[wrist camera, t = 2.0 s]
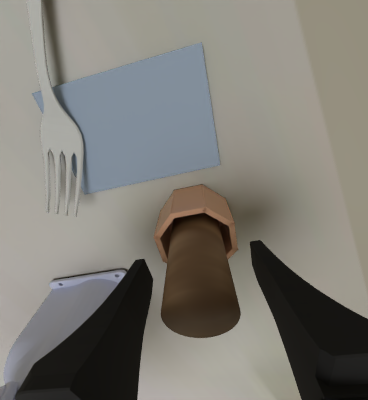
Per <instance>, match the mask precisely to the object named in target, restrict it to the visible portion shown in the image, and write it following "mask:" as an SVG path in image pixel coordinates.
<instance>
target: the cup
mask: <svg viewBox="0 0 368 400" xmlns="http://www.w3.org/2000/svg"><path fill="white" fill-rule="evenodd" d="M199 213H206V214H208V215H210V216H211V217H213V218H215V219H217V220H218V222H219V226H220V230H221V235H222V239H223V243H224V247H225V251H226V255H227V259H229V258H230V257H231V256H232V255H233V254H234V253H235V252H236V251H237V250H238V247H237V240H236V232H235V225H234V224H235V223H234V220H233V217H232V215H231V212H230V209H229V207H228V204H227V201H226V199H225V198H224V197H222V196H220V195H219V194H217V193H215V192H214V191H212V190H210V189H209V188H207V187H205V186H204V185H203V184H201V185H197V186H192V187H187V188H182V189H177V190H174V191H173V193H172V194H171V196H170V197H169V199H168V200H167V202H166V203H165V205H164V207H163V208H162V210H161V211H160V215H159V219H158V223H157V226H156V230H155V234H154V239H155V242H156V244H157V247H158V249H159V252H160V255H161V257H162V260H163V262H165V263H167V262H168V255H169V247H170V240H171V232H172V224H173V219H174V218H177V217H183V216H188V215H194V214H199Z"/></svg>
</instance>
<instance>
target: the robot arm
mask: <svg viewBox="0 0 368 400" xmlns="http://www.w3.org/2000/svg"><path fill="white" fill-rule="evenodd" d="M250 247H251V258H252V266H253V269H254V272H255V275H256V278H257V281H258V283H259V285H260V287H261V290H262V292H263V294H264V296H265V299H266V301H267V303H268V305H269V307H270V310H271V312H272V314H273V317H274V319H275V322H276V324H277V327H278V330H279V333H280V336H281V339H282V341H283V344H284V347H285V350H286V353H287V356H288V359H289V362H290V365H291V368H292V371H293V374H294V377H295V380H296V383H297V387H298V390H299V393H300V396H301V399H302V400H368V319H367V318H365V317H363V316H361V315H359V314H357V313H355V312H353V311H352V310H350V309H348V308H346V307H344V306H343V305H341V304H339V303H338V302H336V301H335V300H333V299H331V298H330V297H328V296H326V295H325V294H323V293H322V292H320V291H319V290H317V289H316V288H314V287H313V286H312V285H310V284H309V283H307V282H306V281H305V280H303V279H302V278H301V277H299V276H298V275H297V274H296V273H294V272H293V271H292V270H291V269H290V268H288V267H287V266H286V265H285V264H284V263H283V262H282V261H281V260H279V259H278V258H277V257H276V256H275V255H274V254H273V253H272V252H271V251H270V250H269V249H268V248H267V247H266V246H265V245H264V244H263V242H262V241H260V240H258V241H251V242H250ZM49 286H50V287H51V288H52V291H51V292H50V294H49V295H48V296H47V298H46V299H45V301H44V302H43V303H42V305H41V306H40V307H39V309H38V310H37V312H36V313H35V314H34V316H33V317H32V319H31V320H30V321H29V323H28V324H27V325H26V327H25V328H24V330H23V331H22V332H21V334H20V335H19V336H18V338H17V339H16V341H15V342H14V344H13V346H12V348H11V350H10V352H9V354H8V357H7V360H6V363H5V367H4V382H5V385H4V386H2V387H0V400H137V395H138V381H139V369H140V359H141V350H142V342H143V334H144V329H145V324H146V319H147V315H148V310H149V305H150V300H151V295H152V287H153V278H152V275H151V273H150V271H149V269H148V266H147V264H146V262H145V260H144V259H139V260H136V261H135V262H134V263H133V265H132V266H131V267H130V269H129V270H128V271H127V272H126V271H125V270H115V271H109V272H102V273H96V274H90V275H84V276H77V277H71V278H65V279H58V280H52V281H51V282H50V283H49Z"/></svg>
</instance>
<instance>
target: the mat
mask: <svg viewBox="0 0 368 400" xmlns="http://www.w3.org/2000/svg"><path fill="white" fill-rule="evenodd" d="M52 89H53V91H54V94H55V96H56V98H57V100H58V102H59V104H60V105H61V107H62V108H63V109H64V111H65V112H66V113H67V114H68V116H69V117H70V118H71V119H72V120H73V122H74V123H75V124H76V125H77V127H78V129H79V131H80V133H81V135H82V140H83V152H84V153H83V170H82V180H81V188H82V190H83V192H84V194H89V193H94V192H98V191H103V190H107V189H112V188H117V187H121V186H126V185H131V184H135V183H140V182H144V181H149V180H154V179H158V178H163V177H168V176H172V175H177V174H181V173H186V172H191V171H195V170H200V169H205V168H209V167H214V166H218V165H220V160H219V153H218V147H217V140H216V134H215V127H214V120H213V114H212V107H211V101H210V94H209V87H208V81H207V74H206V68H205V61H204V54H203V48H202V42H201V43H198V44H195V45H191V46H188V47H185V48H181V49H178V50H175V51H171V52H168V53H165V54H161V55H158V56H155V57H151V58H148V59H145V60H141V61H138V62H135V63H131V64H128V65H125V66H121V67H118V68H115V69H111V70H108V71H105V72H101V73H98V74H95V75H91V76H88V77H85V78H81V79H78V80H75V81H71V82H68V83H65V84H61V85H58V86H55V87H52ZM32 95H33V96H34V98H35V100H36V102H37V104H38V106H39V108H40V110H41V112H42V114H43V112H44V103H43V97H42V93H41V91H38V92H35V93H32ZM62 152H63V151H62ZM63 154H64V153H63ZM64 156H65V155H64ZM72 171H73V173H74V175H75V177H77V157H76V155H75V153H73V156H72Z"/></svg>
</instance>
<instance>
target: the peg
mask: <svg viewBox="0 0 368 400" xmlns="http://www.w3.org/2000/svg"><path fill="white" fill-rule="evenodd" d="M240 315H241V314H240V308H239V304H238V299H237V295H236V291H235V287H234V283H233V279H232V275H231V271H230V267H229V263H228V259H227V255H226V251H225V247H224V243H223V239H222V235H221V230H220V226H219V222H218V220H217V219H215V218H213V217H211V216H210V215H208V214H206V213H199V214H194V215H188V216H183V217H177V218H174V219H173V224H172V232H171V240H170V247H169V255H168V262H167V270H166V278H165V285H164V293H163V301H162V308H161V318H162V321H163V322H164V324H165V325H166V326H167V327H168V328H169V329H171V330H172V331H174V332H176V333H178V334H180V335H183V336H187V337H194V338H208V337H214V336H218V335H221V334H223V333H226V332H227V331H229V330H231V329H232V328H233V327H234V326H235V325H236V324H237V323H238V321H239V319H240Z"/></svg>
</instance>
